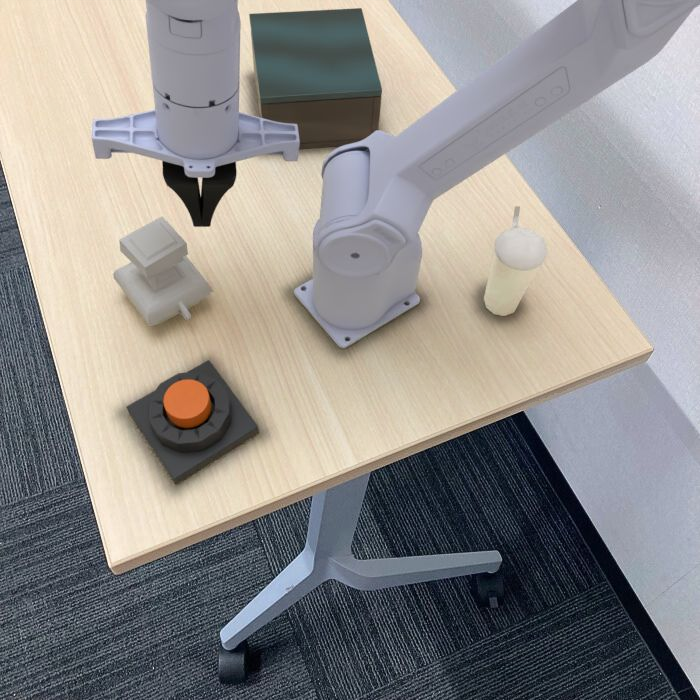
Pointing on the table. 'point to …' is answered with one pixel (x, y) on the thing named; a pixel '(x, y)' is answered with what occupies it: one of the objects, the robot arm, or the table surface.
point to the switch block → (198, 442)
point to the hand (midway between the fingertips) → (201, 217)
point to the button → (187, 403)
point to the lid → (313, 56)
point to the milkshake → (513, 267)
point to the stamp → (160, 273)
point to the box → (325, 118)
